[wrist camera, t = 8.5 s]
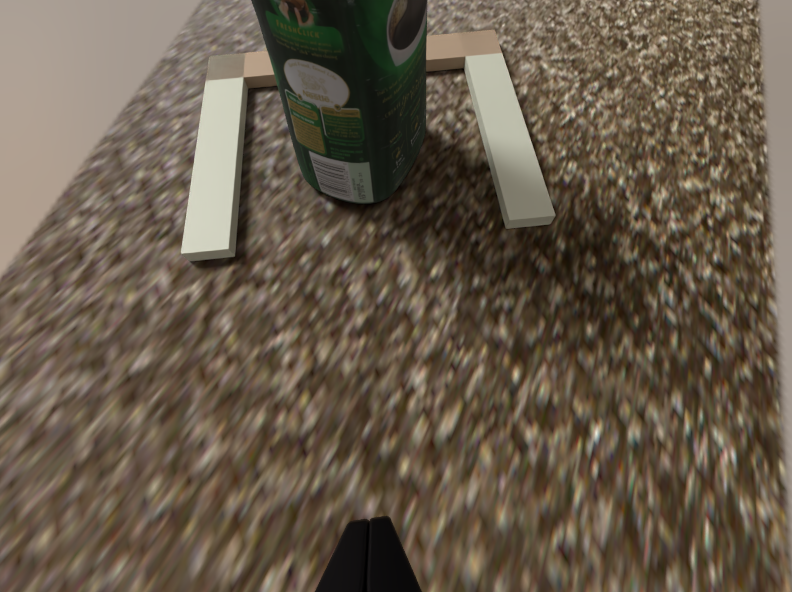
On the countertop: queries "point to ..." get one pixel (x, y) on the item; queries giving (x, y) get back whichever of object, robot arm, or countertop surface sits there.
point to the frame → (474, 51)
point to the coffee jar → (350, 89)
